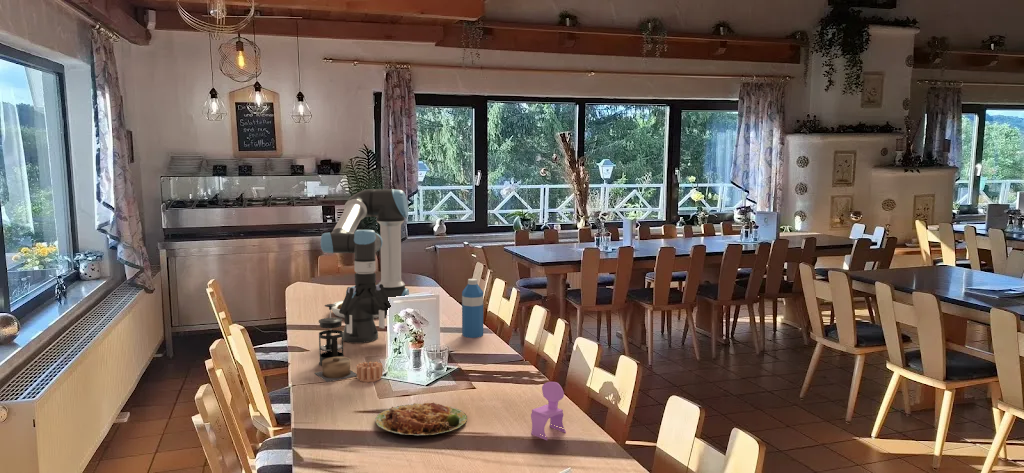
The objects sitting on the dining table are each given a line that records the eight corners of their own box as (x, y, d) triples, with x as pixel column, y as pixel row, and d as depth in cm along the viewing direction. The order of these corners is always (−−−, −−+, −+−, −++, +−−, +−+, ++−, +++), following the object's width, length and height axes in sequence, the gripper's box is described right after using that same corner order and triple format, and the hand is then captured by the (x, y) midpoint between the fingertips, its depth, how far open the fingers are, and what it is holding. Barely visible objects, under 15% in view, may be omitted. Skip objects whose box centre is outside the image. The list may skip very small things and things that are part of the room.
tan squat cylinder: (318, 372, 266) (317, 357, 265) (343, 367, 272) (343, 352, 271) (328, 380, 258) (328, 364, 257) (355, 374, 264) (354, 359, 263)
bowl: (326, 310, 368) (326, 295, 367) (384, 305, 381) (384, 290, 380) (338, 323, 341) (338, 307, 340) (400, 317, 354) (400, 301, 353)
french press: (316, 360, 282) (314, 302, 279) (340, 357, 286) (339, 300, 283) (323, 369, 271) (321, 309, 268) (348, 365, 276) (346, 306, 273)
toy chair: (527, 433, 212) (527, 384, 210) (547, 425, 218) (548, 377, 216) (548, 442, 206) (548, 391, 204) (568, 433, 212) (569, 384, 211)
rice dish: (423, 403, 240) (422, 387, 239) (486, 420, 222) (485, 403, 222) (355, 429, 218) (355, 411, 218) (419, 450, 201) (418, 431, 200)
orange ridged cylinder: (352, 377, 262) (352, 364, 261) (375, 373, 267) (375, 359, 267) (363, 384, 255) (363, 370, 254) (386, 379, 260) (386, 366, 259)
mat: (314, 373, 266) (314, 372, 266) (345, 367, 273) (345, 366, 273) (327, 382, 257) (327, 381, 257) (358, 375, 264) (358, 375, 264)
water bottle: (482, 338, 316) (482, 281, 313) (461, 337, 316) (461, 281, 313) (483, 332, 326) (483, 277, 322) (463, 332, 326) (462, 277, 323)
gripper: (339, 276, 251) (340, 337, 253) (399, 270, 268) (400, 327, 270) (328, 274, 257) (329, 333, 258) (388, 268, 274) (389, 324, 275)
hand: (365, 330), depth 264 cm, fingers open, 13 cm apart
